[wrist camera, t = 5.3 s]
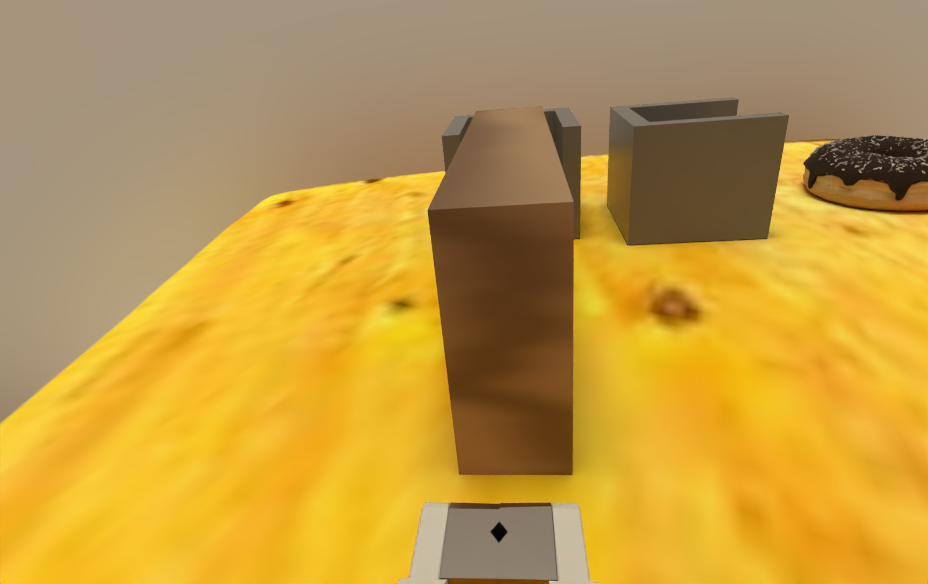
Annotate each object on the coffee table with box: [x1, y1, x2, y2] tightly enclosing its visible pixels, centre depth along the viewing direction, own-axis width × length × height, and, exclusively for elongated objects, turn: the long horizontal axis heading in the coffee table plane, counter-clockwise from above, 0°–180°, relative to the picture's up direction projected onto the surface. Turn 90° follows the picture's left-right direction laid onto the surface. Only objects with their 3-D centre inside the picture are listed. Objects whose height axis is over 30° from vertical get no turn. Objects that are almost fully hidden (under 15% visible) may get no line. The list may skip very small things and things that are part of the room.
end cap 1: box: [442, 108, 581, 239], centre depth 42 cm, size 9×9×8 cm
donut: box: [803, 135, 928, 211], centre depth 42 cm, size 11×12×4 cm
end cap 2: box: [607, 98, 789, 245], centre depth 39 cm, size 9×9×8 cm
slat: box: [428, 106, 574, 475], centre depth 26 cm, size 4×20×10 cm, turn 175°
